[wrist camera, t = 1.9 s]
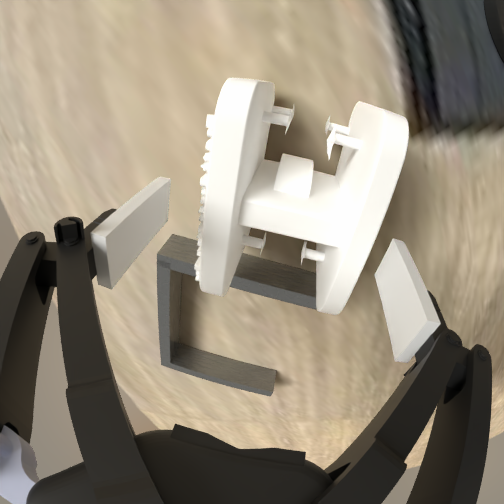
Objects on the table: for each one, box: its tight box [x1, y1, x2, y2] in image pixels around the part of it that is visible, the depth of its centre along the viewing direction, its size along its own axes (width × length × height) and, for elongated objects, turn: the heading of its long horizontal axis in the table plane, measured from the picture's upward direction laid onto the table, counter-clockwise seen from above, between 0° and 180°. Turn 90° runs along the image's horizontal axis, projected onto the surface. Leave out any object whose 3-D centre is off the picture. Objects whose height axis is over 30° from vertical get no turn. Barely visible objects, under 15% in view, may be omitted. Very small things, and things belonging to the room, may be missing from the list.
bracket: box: [157, 234, 317, 396], centre depth 36 cm, size 17×21×4 cm
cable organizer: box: [194, 77, 409, 315], centre depth 21 cm, size 15×11×12 cm
